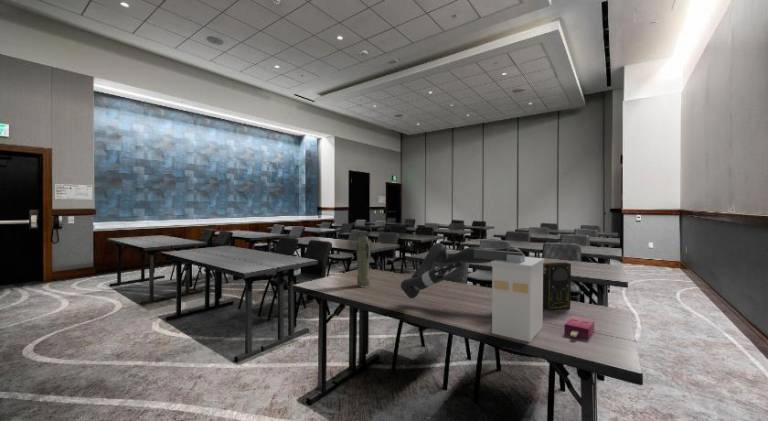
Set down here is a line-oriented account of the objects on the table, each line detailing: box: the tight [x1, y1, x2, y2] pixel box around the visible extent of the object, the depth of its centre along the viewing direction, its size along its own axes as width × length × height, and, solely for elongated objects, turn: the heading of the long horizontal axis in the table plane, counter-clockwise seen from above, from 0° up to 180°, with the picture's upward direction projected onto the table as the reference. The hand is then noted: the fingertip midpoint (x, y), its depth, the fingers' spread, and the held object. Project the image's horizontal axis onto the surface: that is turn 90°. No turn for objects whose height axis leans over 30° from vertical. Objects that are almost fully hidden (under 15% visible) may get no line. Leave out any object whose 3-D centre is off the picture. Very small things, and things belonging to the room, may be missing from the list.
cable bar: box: [474, 249, 526, 263], centre depth 154 cm, size 22×6×4 cm, turn 52°
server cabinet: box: [490, 256, 546, 343], centre depth 153 cm, size 17×23×32 cm
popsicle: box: [563, 315, 595, 340], centre depth 149 cm, size 9×5×20 cm
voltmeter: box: [543, 261, 572, 311], centre depth 187 cm, size 16×9×25 cm, turn 105°
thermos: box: [356, 235, 371, 288], centre depth 237 cm, size 9×12×35 cm
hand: (458, 264), depth 166 cm, fingers open, 8 cm apart
